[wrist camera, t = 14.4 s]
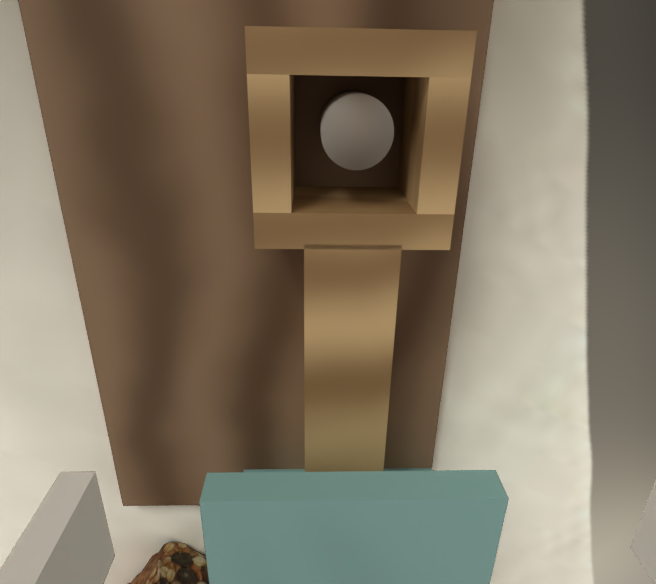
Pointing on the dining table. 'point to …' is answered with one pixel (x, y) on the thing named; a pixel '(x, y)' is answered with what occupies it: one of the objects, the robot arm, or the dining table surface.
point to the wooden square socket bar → (355, 215)
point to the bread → (174, 567)
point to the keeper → (352, 526)
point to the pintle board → (224, 226)
